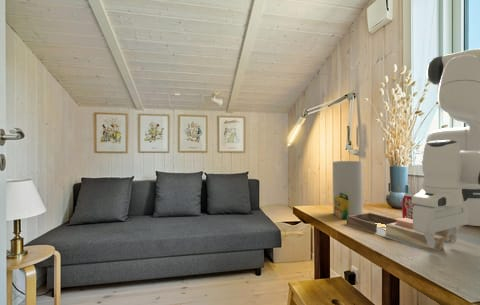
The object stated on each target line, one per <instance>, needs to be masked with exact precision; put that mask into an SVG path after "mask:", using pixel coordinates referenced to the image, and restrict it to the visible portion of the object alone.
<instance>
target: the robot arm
mask: <svg viewBox="0 0 480 305" xmlns="http://www.w3.org/2000/svg"><path fill="white" fill-rule="evenodd" d="M426 77H427V79H428V82H429V83H430V84H431V85H434V86H435V85H437V86H438V92H437V104H438V105H439V108H440V109H441V110H443V111H444V112H446V114H448V116H449V117H450V118H451V119H453V120H455V121H458V122H461V123H463V124H465V125H467V126H465V127H451V128H449V127H447V128H441V129H436V130H431V132H430V133H429V134H428V135H427V136H426V141H425V144H424V149H423V154H422V174H423V182H422V188H421V189H420V190H419V191H418V192H417V193H414V194H415V195H414V196H413V197H412V203H414V204H415V205H414V207H413V227H414V229H415V231H417V232H420V233H423V234H424V236H425V238H426V240H427V246H428V247H431V248H435V247H437V241H435V239H434V236H435V233H436V232H439V231H443V230H447V229H449V233H448V235H447V241H446V242H450V243H454V242H457V236H458V234H459V231H460V227H463V226H472V227H473V226H474V227H476V226H477V227H480V47H479V48H474V49H473V48H472V49H466V50H462V51H459V52H454V53H450V54H446V55H442V54H441V55H440V56H436V57H434V58H432V59H431V60H430V61H429V62H428V66H427V69H426ZM428 247H427V248H428ZM431 248H430V249H431Z"/></svg>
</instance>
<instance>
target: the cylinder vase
mask: <svg viewBox="0 0 480 305" xmlns="http://www.w3.org/2000/svg"><path fill="white" fill-rule="evenodd" d="M340 193H342V194H345V195H348V212H349V216H350V215H356V214H362V213H364V211H363V208H364V206H363V162H362V161H356V160H354V161H353V160H352V161H351V160H350V161H349V160H341V161H340V160H338V161H335V160H334V161H332V197H333V198H332V200H333V201H332V203H333V205H332V206H333V214H334V197H340ZM342 196H343V197H345V196H344V195H342Z"/></svg>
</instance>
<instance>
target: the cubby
mask: <svg viewBox="0 0 480 305" xmlns="http://www.w3.org/2000/svg"><path fill="white" fill-rule="evenodd" d="M396 220H397V218H393V217H389V216H386V215H381V214H377V213H374V212H369V211H368V212H363V213H362V214H356V215H350V216H347V220H346V225H347V224H350V225H353V226H356V227H359V228H362V229H365V230H368V231H371V232H374V233H376V232H377V224H375V223H372V222H368V221H374V222H377V223H381V224H385V225H386V224H390V223H395V222H396ZM350 225H349V226H350ZM353 226H352V227H353ZM356 227H355V228H356ZM359 228H358V229H359ZM362 229H361V230H362ZM365 230H364V231H365ZM368 231H367V232H368ZM371 232H370V233H371ZM374 233H373V234H374Z"/></svg>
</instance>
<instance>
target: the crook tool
mask: <svg viewBox="0 0 480 305" xmlns="http://www.w3.org/2000/svg"><path fill="white" fill-rule="evenodd" d="M386 235H388V236H392V237H395V238H398V239H401V240H405V241H408V242H411V243H415V244H418V245H421V246H424V247H423V248H428V249H432V250H434V251H438V252H439V251H442V250H443V251H444V248H445V247H444V245H445V242H444V237H441V236H437V235H435V236H434V239H435V241H437V247H435V248H431V247H428V246H427V240H426V238H425V236H424V234H423V233H420V232H417V231H415V230H414V229H410V228H406V227H402V226H398V225H396V222H395V223H390V224H386Z"/></svg>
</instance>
